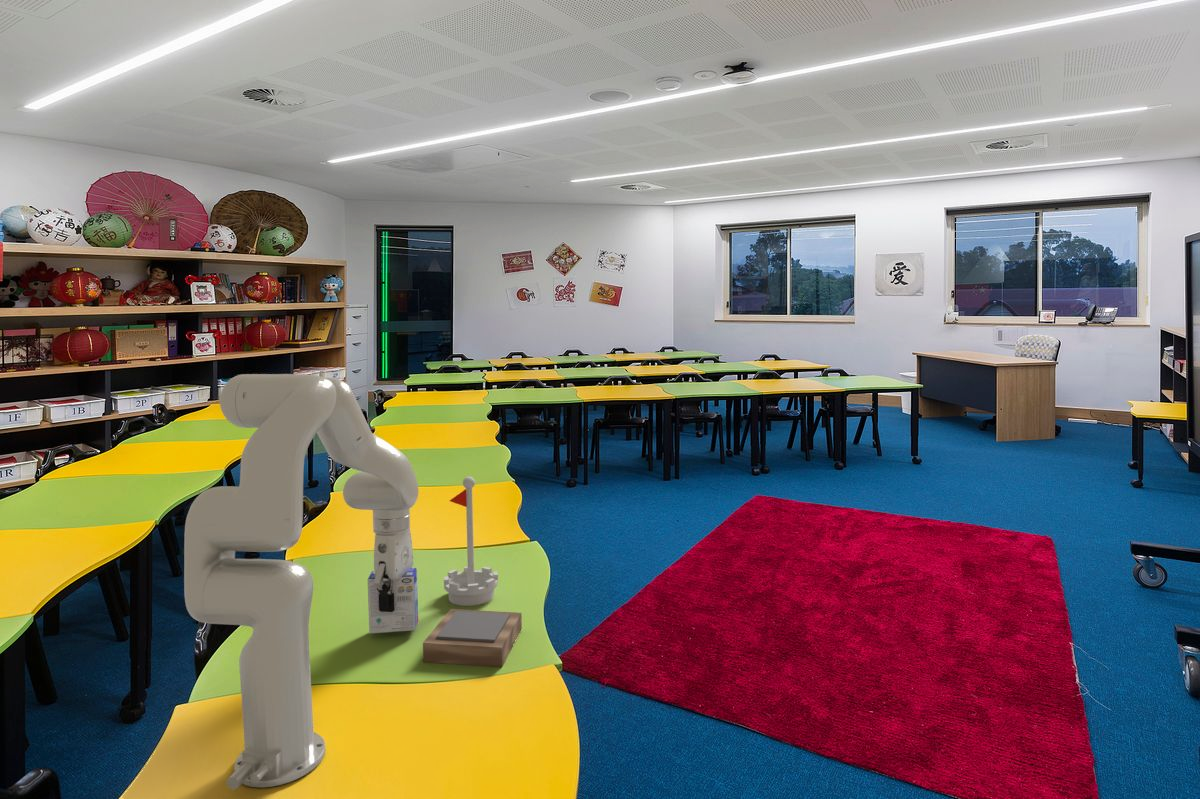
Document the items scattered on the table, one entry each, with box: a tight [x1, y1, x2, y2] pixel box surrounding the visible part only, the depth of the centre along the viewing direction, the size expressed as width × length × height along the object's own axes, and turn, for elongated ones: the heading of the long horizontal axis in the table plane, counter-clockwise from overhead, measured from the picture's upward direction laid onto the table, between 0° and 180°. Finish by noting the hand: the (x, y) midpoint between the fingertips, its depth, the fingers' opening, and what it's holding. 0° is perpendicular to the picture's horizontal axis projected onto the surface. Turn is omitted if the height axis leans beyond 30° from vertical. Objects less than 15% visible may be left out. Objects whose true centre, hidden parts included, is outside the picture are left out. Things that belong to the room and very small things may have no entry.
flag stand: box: [443, 476, 499, 607], centre depth 165 cm, size 13×13×30 cm
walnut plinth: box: [422, 608, 523, 668], centre depth 141 cm, size 16×16×4 cm
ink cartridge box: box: [367, 567, 419, 634], centre depth 146 cm, size 10×6×14 cm, turn 100°
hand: (394, 603), depth 146 cm, fingers closed on ink cartridge box, 6 cm apart
